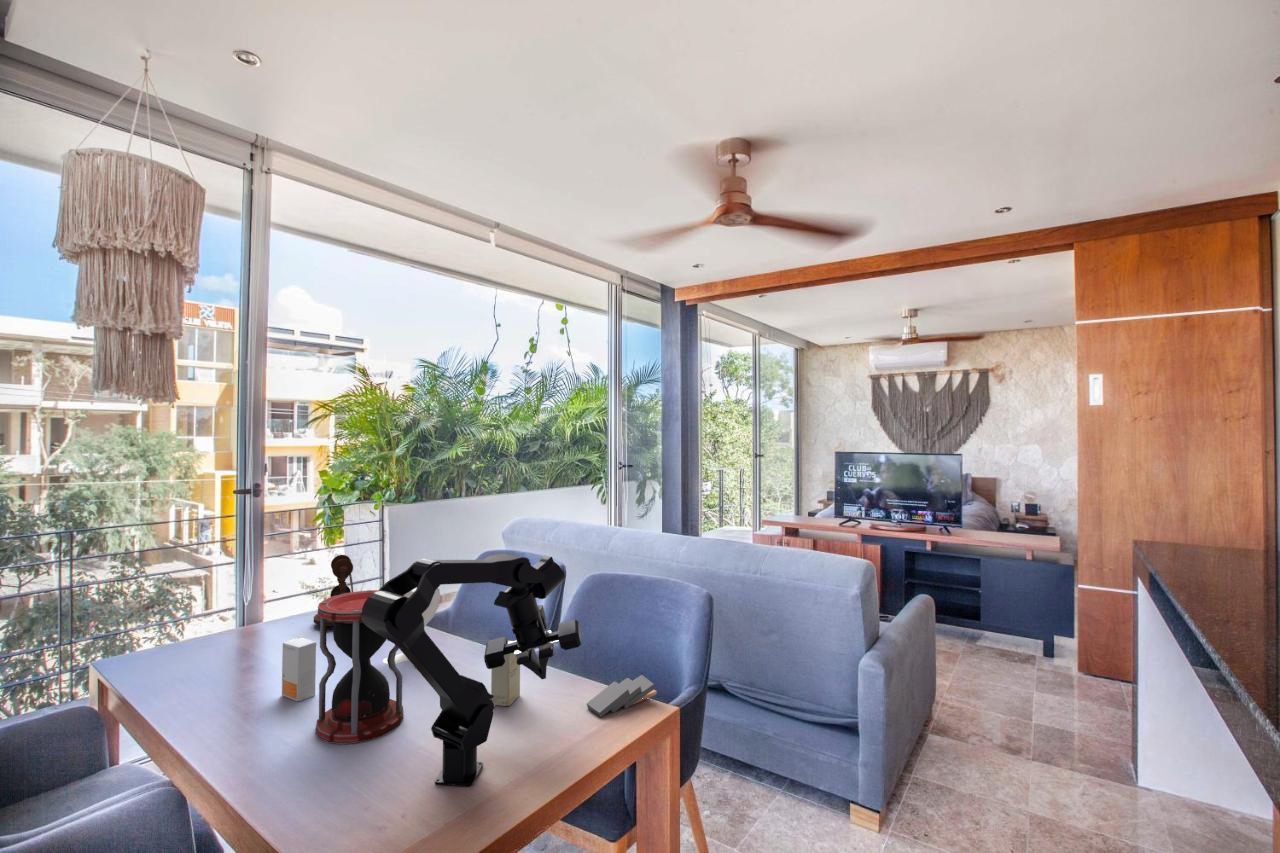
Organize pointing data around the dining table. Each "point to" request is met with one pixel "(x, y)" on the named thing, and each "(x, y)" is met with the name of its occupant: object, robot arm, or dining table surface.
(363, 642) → the hourglass
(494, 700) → the skincare box
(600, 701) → the tile
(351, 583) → the dark brown tall piece
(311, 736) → the dining table surface
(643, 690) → the tile
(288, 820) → the dining table surface
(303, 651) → the skincare box
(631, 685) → the tile
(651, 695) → the end tile
